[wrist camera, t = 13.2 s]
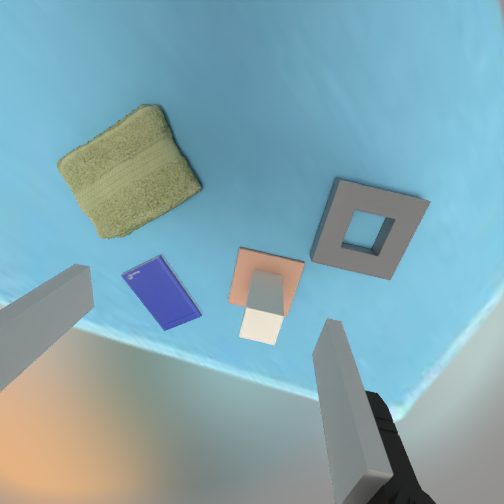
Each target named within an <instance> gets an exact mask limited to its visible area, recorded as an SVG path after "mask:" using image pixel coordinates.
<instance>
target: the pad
mask: <svg viewBox="0 0 504 504" xmlns="http://www.w3.org/2000/svg"><path fill="white" fill-rule="evenodd" d="M304 265H305V262H302V261H298V260H293V259H289V258H285V257H281V256H276V255H272V254H268V253H264V252H259V251H255V250H251V249H247V248H243V247H240V249H239V254H238V258H237V263H236V268H235V272H234V277H233V282H232V287H231V291H230V296H229V301H228V303H231V304H235V305H239V306H244V307H245V304H246V298H247V293H248V289H249V285H250V281H251V277H252V273H253V269H257V270H261V271H265V272H270V273H274V274H278V275H282V284H283V304H284V316H286V317H287V315H288V312H289V309H290V306H291V303H292V300H293V297H294V294H295V291H296V288H297V286H298V283H299V280H300V277H301V274H302V271H303V268H304Z"/></svg>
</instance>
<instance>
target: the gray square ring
mask: <svg viewBox="0 0 504 504" xmlns="http://www.w3.org/2000/svg"><path fill="white" fill-rule="evenodd" d="M429 204H430V201H428V200H425V199H422V198H418V197H414V196H410V195H406V194H402V193H397V192H393V191H389V190H385V189H380V188H376V187H372V186H368V185H363V184H359V183H355V182H351V181H347V180H342V179H338V178H336V179H335V182H334V184H333V187H332V190H331V193H330V196H329V199H328V202H327V205H326V208H325V211H324V214H323V217H322V219H321V222H320V225H319V228H318V231H317V234H316V237H315V240H314V243H313V246H312V249H311V252H310V254H309V255H310V258H311V261H312V262H315V263H319V264H323V265H327V266H332V267H336V268H340V269H344V270H349V271H353V272H357V273H361V274H366V275H370V276H374V277H378V278H383V279H387V280H391V278H392V276H393V274H394V272H395V270H396V268H397V266H398V264H399V262H400V260H401V258H402V257H403V255H404V253H405V251H406V249H407V247H408V245H409V243H410V241H411V239H412V237H413V235H414V233H415V231H416V229H417V227H418V225H419V223H420V222H421V220H422V218H423V216H424V214H425V212H426V210H427V208H428V206H429ZM355 210H359V211H363V212H367V213H371V214H376V215H380V216H384V217H386V219H385V221H384V223H383V225H382V228H381V230H380V232H379V234H378V237H377V239H376V241H375V243H374V245H373V248H372V249H368V248H364V247H359V246H355V245H351V244H347V243H342V241H343V239H344V236H345V234H346V231H347V229H348V226H349V224H350V221H351V219H352V216H353V214H354V211H355Z"/></svg>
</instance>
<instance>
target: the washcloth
mask: <svg viewBox="0 0 504 504" xmlns="http://www.w3.org/2000/svg"><path fill="white" fill-rule="evenodd" d="M57 168H58V170H59V172H60V174H61V175H62V176H63V178H64V180H65V181H66V182H67V184H68V185H69V187H70V189H71V190H72V192H73V194H74V195H75V197H76V200H77V202H78V204H79V206H80V208H81V210H82V211H83V212H84V213H85V214H86V215H87V216H88V217H89V218H90V219H91V221H92V222H93V224H94V226H95V228H96V230H97V233H98V235H99V236H100V237H101V238H102V239H104V238H108V239H110V238H112V237H113V238H115V237H124V236H126V235H128V234H129V235H130V233H131V232H132V231H134V230H137V229H138V228H140V227H141V226H144V225H145V224H147V222H150V221H152V220H154V219H156V218H157V217H159V216H161V215H164V214H166V212H168V211H170V210H171V209H174V208H175V207H177V206H178V205H179V204H182V203H183V202H184V201H185V200H187V198H190V197H191V196H193V195H195V194H196V193H197V192H199V191H201V185H200V183H199V182H198V180H197V178H196V176H194V174H193V172H192V169H191V168H190V167H189V165H188V162H187V160H186V157H183V156H182V155H181V154H180V151H179V149H178V147H177V145H176V144H175V143H174V140H173V139H172V132H171V130H170V128H169V127H168V126H167V122H166V121H165V117H164V115H163V112H162V110H161V109H160V108H159V107H158V105H152V106H150V105H144V104H143V105H141V106H139V107H138V109H137V110H133V111H132V113H130V114H129V115H126V117H125V118H123V120H121V121H118V122H117V123H116V124H115V125H113V126H111V127H109V129H107V130H106V131H104V132H103V133H101V134H99V135H98V136H96V137H94V139H93V140H91V141H88V142H87V144H85V145H82V146H79V147H77V148H76V149H74V150H72V151H71V152H69V153H68V154H67V155H66V156H64V157H63V158H62V159H60V160H59V161H58V163H57Z"/></svg>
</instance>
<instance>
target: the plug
mask: <svg viewBox="0 0 504 504" xmlns="http://www.w3.org/2000/svg"><path fill="white" fill-rule="evenodd" d="M283 318H284V304H283V284H282V275H278V274H274V273H270V272H265V271H261V270H257V269H253V273H252V277H251V281H250V285H249V289H248V293H247V298H246V304H245V309H244V314H243V319H242V324H241V329H240V334H239V337H242V338H246V339H251V340H255V341H259V342H263V343H268V344H272V345H275V342H276V339H277V336H278V333H279V330H280V327H281V324H282V321H283Z"/></svg>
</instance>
